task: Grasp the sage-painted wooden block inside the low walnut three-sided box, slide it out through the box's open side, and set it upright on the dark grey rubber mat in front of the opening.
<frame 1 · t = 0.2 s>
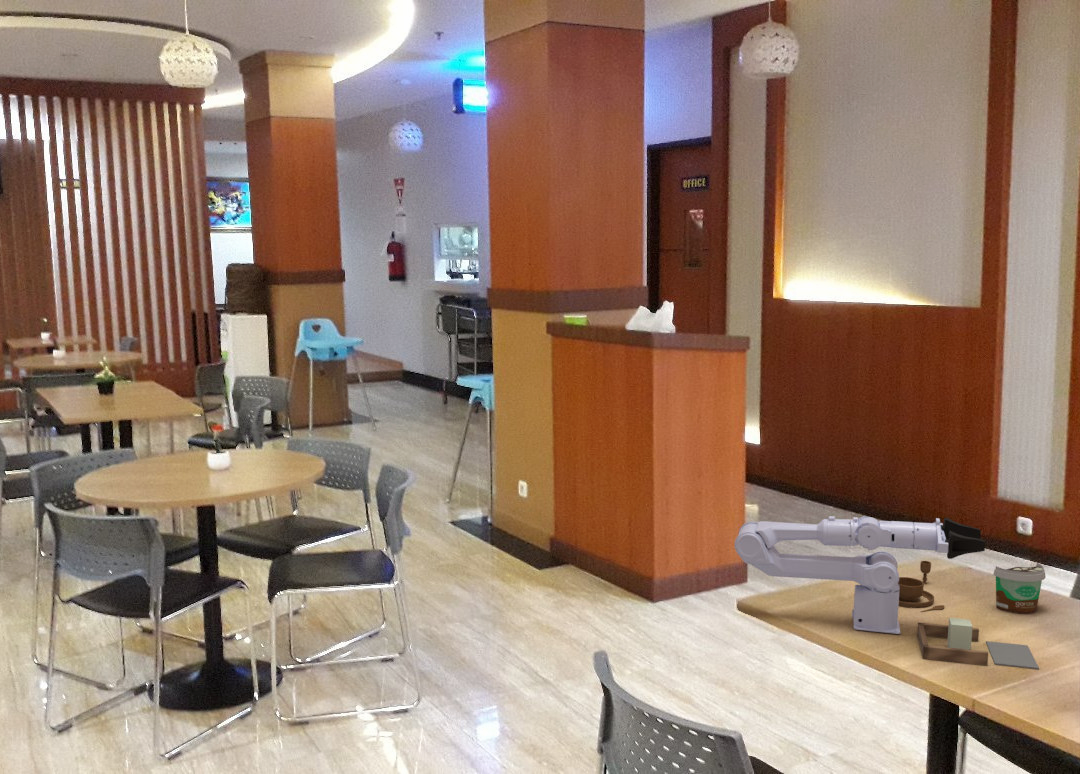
hand: (982, 540, 215), 21 cm above the table, tool horizontal, fingers open, 7 cm apart
food container: (1022, 611, 234), on the table
open side box: (953, 649, 211), on the table
mat: (1011, 655, 208), on the table
place setting: (918, 599, 242), on the table
sage block: (958, 650, 210), on the table
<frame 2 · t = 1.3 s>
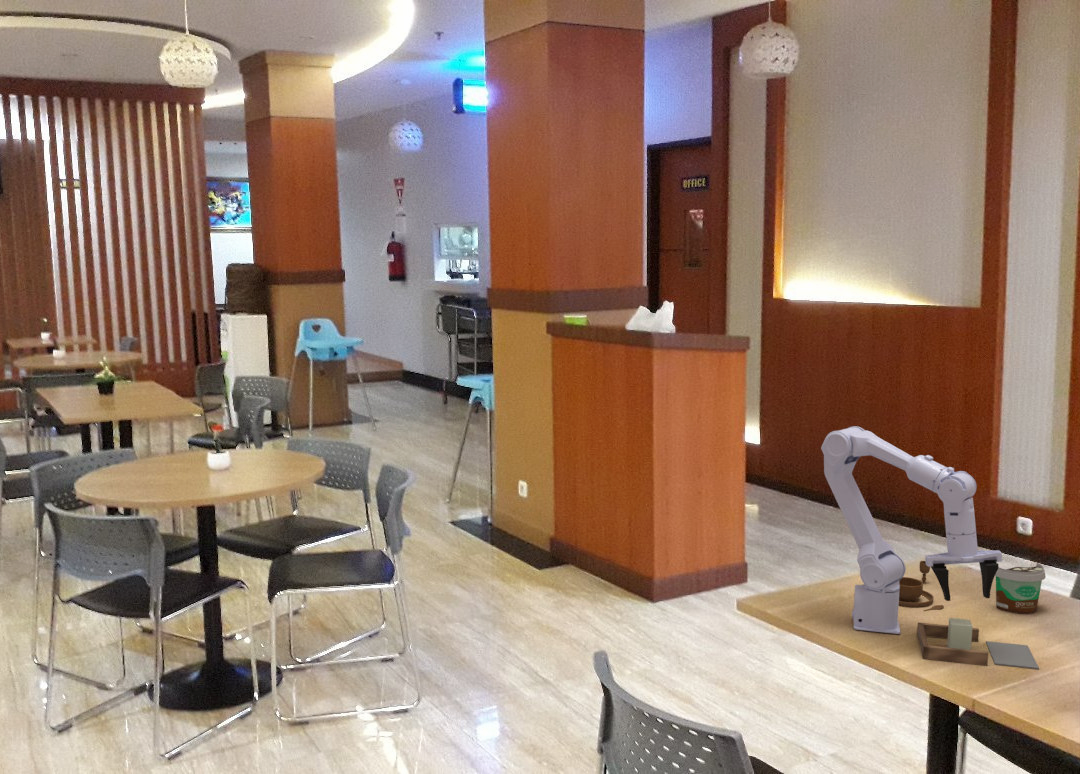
hand: (966, 598, 209), 11 cm above the table, tool pointing down, fingers open, 7 cm apart
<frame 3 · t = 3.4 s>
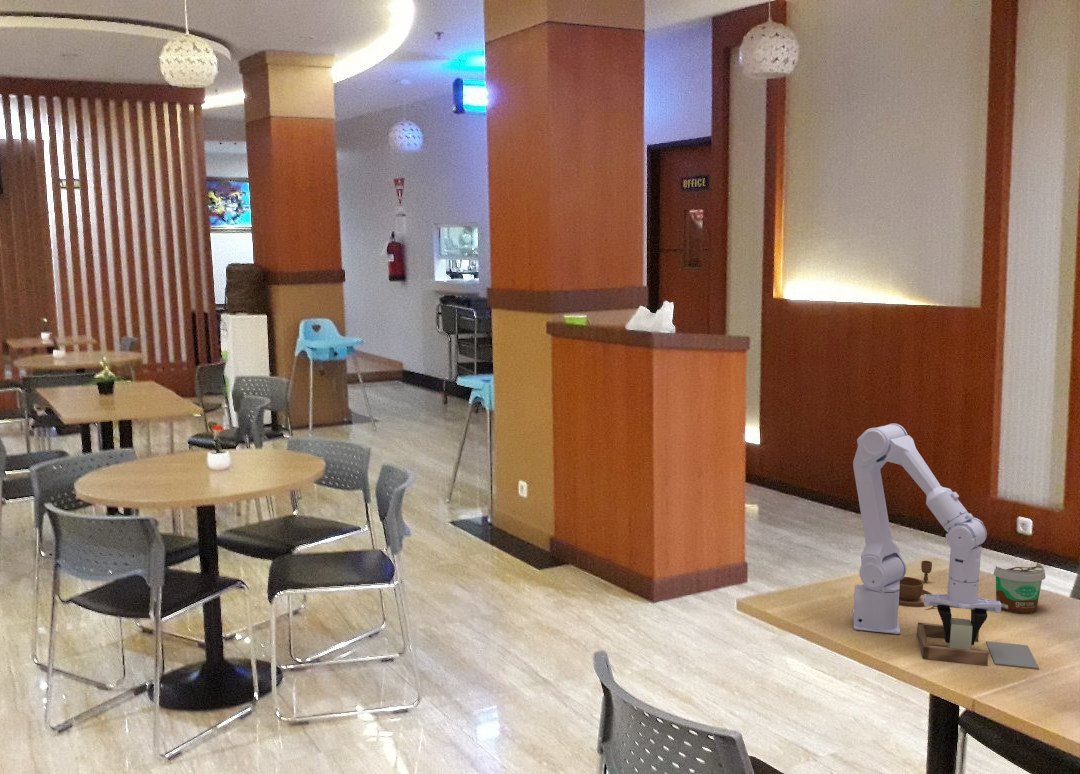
hand: (959, 642, 210), 2 cm above the table, tool pointing down, fingers closed on sage block, 4 cm apart
sage block: (958, 649, 210), on the table, touching gripper
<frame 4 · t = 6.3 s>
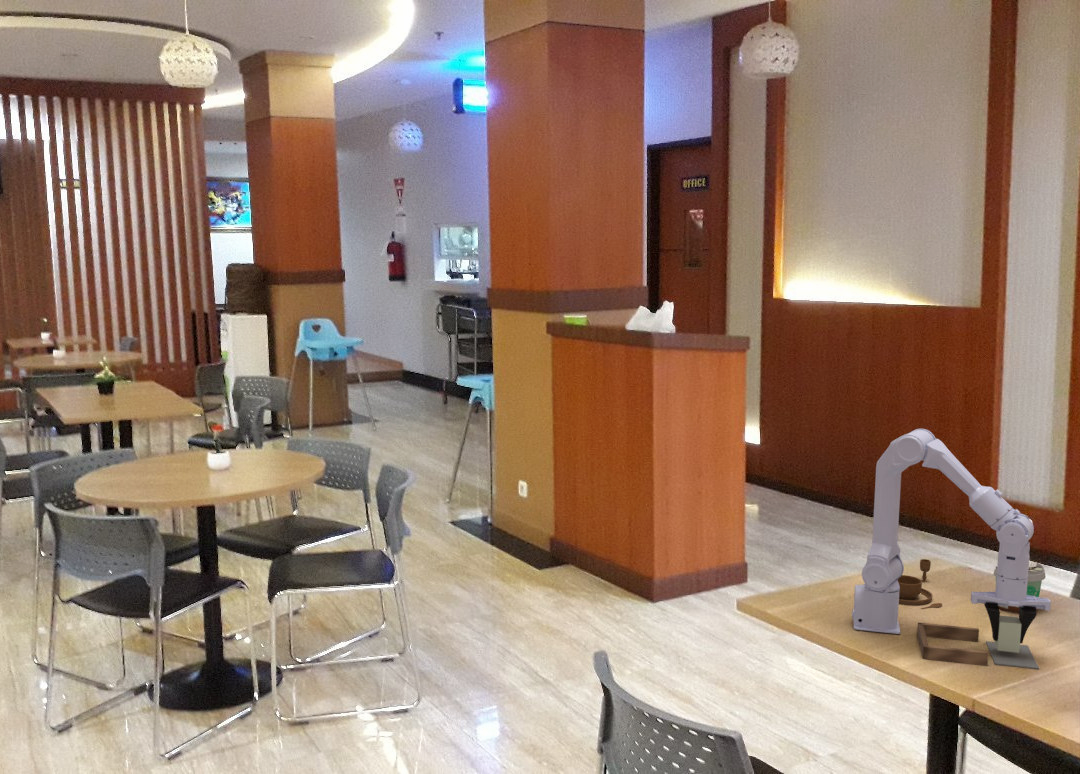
hand: (1007, 640, 208), 3 cm above the table, tool pointing down, fingers closed on sage block, 4 cm apart
sage block: (1006, 647, 208), point 1 cm above the table, touching gripper
when the fingers open (3 cm above the table, at t = 6.8 s): sage block drops 1 cm, resting on mat.
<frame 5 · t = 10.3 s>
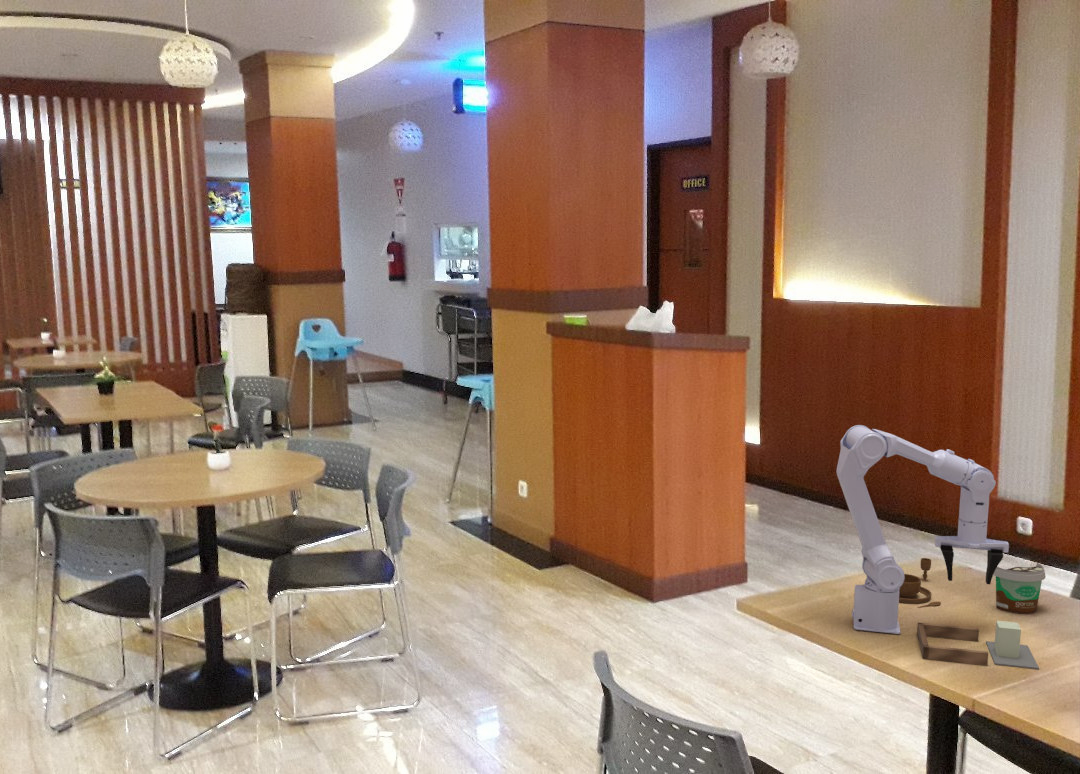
hand: (968, 581, 222), 10 cm above the table, tool pointing down, fingers open, 7 cm apart
sage block: (1006, 653, 208), resting on mat
at the end: sage block inside the target area (0.0 cm from its centre), resting on mat; sage block tilted 0°; the gripper is holding nothing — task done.
